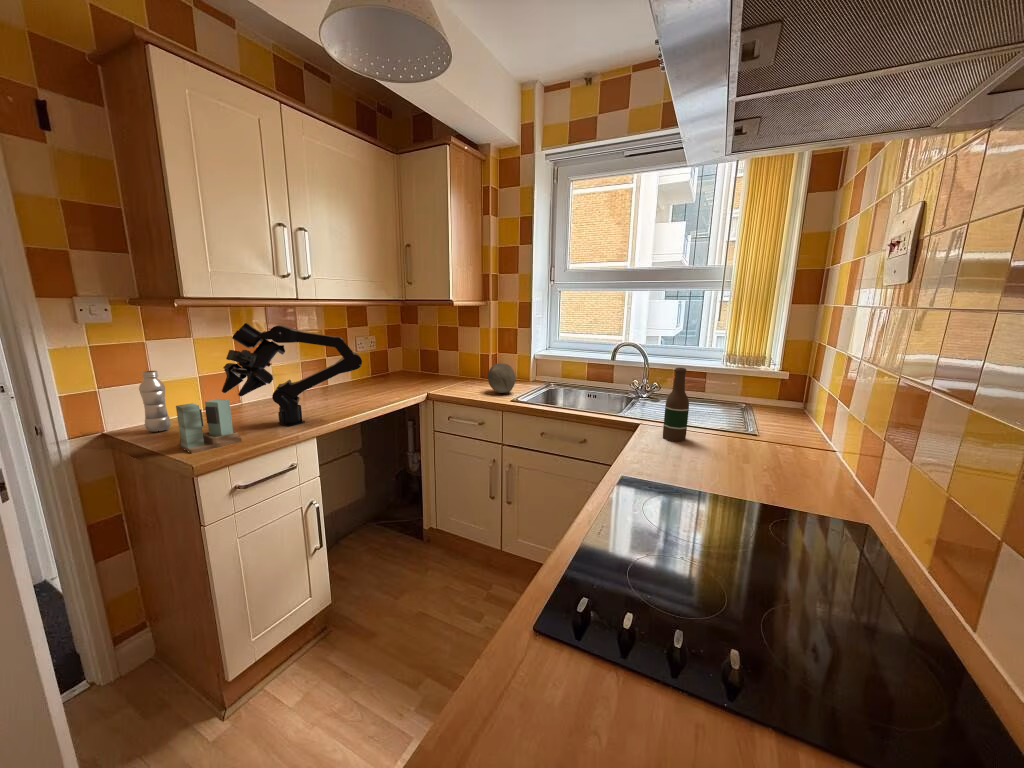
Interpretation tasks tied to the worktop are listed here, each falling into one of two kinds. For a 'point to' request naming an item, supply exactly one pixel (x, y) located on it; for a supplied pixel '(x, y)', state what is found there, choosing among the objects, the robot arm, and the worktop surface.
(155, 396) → the plastic bottle
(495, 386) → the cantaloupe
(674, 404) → the beer bottle
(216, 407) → the block
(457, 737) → the worktop surface
